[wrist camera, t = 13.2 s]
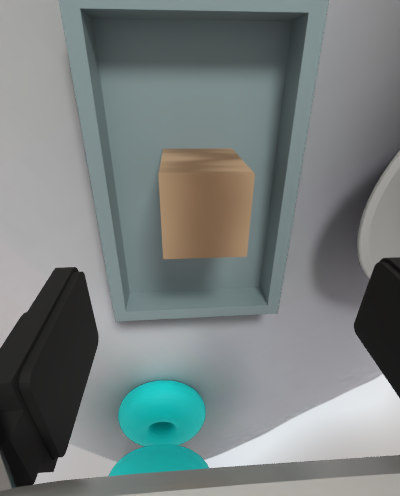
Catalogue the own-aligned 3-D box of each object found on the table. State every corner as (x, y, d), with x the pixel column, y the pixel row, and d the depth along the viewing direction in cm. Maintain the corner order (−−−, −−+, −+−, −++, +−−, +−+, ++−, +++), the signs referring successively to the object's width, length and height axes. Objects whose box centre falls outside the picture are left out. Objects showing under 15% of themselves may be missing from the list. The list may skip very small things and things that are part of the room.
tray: (307, 3, 19) (330, -11, 16) (267, 291, 29) (277, 313, 26) (74, -2, 18) (55, -18, 15) (121, 297, 28) (115, 321, 25)
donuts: (210, 469, 25) (216, 520, 30) (200, 369, 34) (207, 421, 39) (90, 484, 25) (116, 534, 30) (112, 380, 34) (129, 431, 38)
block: (232, 148, 22) (255, 173, 16) (228, 212, 24) (246, 256, 18) (162, 148, 21) (158, 175, 15) (166, 213, 24) (163, 259, 18)
